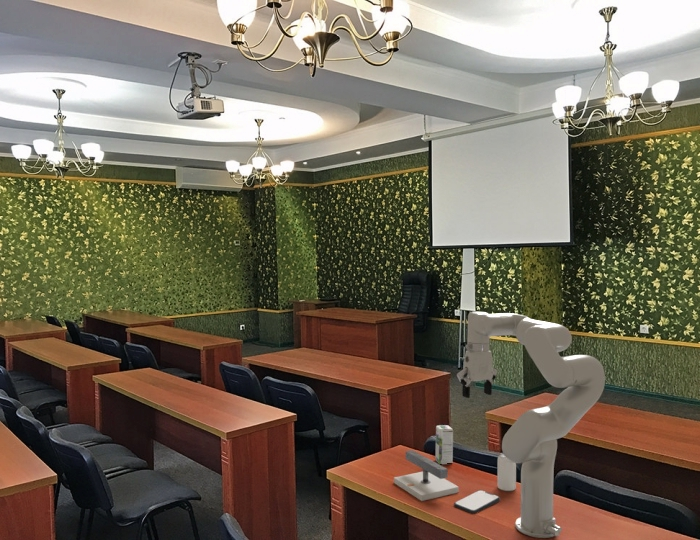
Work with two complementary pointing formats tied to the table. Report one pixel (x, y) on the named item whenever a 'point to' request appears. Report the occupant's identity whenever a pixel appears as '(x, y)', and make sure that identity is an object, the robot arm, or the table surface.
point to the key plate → (425, 486)
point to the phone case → (477, 501)
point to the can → (506, 474)
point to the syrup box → (444, 444)
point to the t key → (426, 465)
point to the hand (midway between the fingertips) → (477, 395)
